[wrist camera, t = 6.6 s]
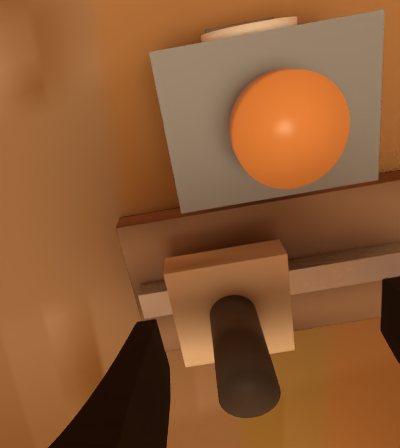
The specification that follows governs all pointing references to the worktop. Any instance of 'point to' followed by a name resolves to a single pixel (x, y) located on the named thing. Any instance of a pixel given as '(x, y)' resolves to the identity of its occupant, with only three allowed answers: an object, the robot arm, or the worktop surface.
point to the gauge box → (241, 77)
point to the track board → (272, 230)
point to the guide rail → (306, 274)
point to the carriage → (234, 319)
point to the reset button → (289, 127)
